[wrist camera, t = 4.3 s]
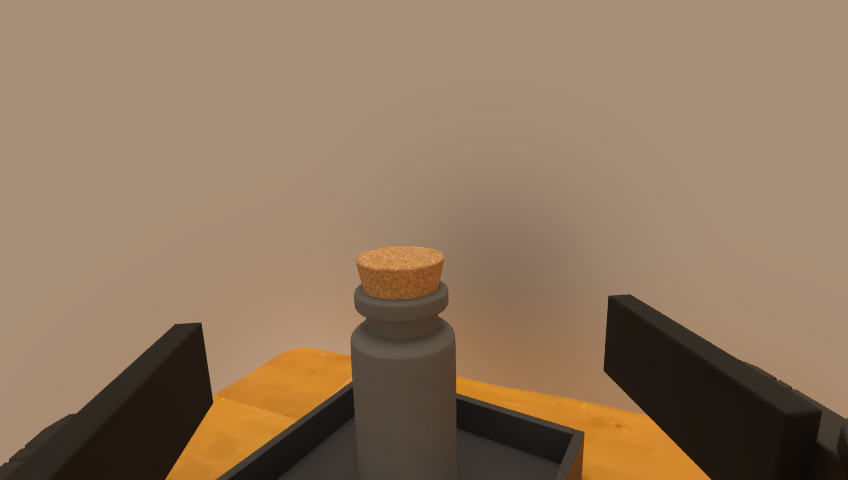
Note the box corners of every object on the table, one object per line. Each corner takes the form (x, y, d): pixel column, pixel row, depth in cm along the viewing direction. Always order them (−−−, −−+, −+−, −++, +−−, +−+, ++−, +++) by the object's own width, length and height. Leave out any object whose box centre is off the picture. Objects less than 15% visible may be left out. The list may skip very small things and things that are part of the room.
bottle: (466, 527, 24) (466, 267, 21) (360, 542, 24) (341, 275, 20) (447, 455, 30) (444, 240, 27) (360, 464, 29) (346, 245, 26)
